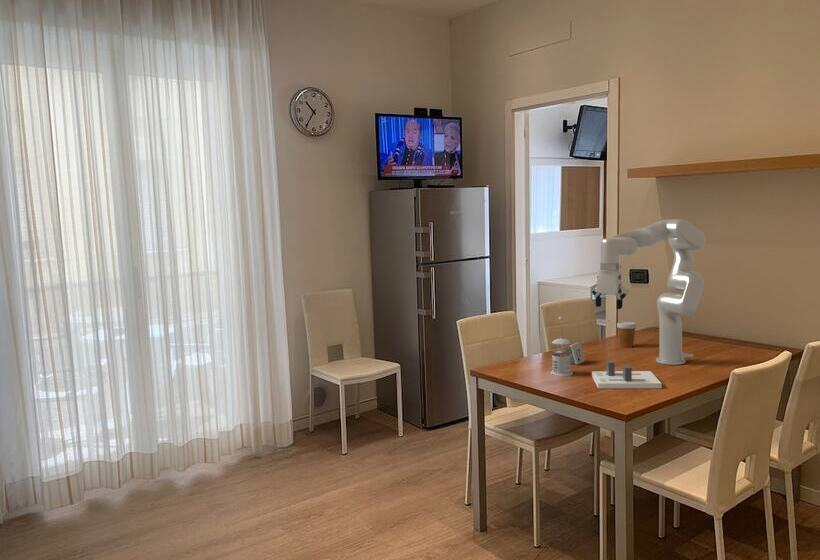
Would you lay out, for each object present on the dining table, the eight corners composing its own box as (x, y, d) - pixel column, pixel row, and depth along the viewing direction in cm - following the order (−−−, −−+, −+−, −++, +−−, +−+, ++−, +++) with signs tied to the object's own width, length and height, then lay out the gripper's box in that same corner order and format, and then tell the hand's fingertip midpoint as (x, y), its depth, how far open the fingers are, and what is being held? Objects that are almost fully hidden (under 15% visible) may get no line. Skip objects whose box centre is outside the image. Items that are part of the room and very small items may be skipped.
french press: (550, 376, 274) (549, 318, 272) (549, 369, 286) (548, 314, 283) (574, 376, 273) (573, 318, 270) (572, 369, 284) (571, 313, 281)
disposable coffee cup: (618, 343, 331) (618, 321, 330) (637, 344, 327) (637, 321, 326) (615, 347, 323) (615, 324, 322) (635, 348, 319) (635, 325, 317)
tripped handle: (629, 377, 258) (629, 365, 258) (631, 381, 253) (631, 368, 253) (623, 377, 258) (622, 365, 258) (625, 381, 254) (625, 368, 253)
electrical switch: (577, 365, 291) (575, 345, 290) (566, 365, 294) (564, 345, 293) (585, 361, 298) (583, 341, 297) (575, 361, 301) (573, 341, 301)
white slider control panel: (650, 375, 268) (650, 358, 267) (661, 388, 249) (661, 369, 249) (591, 375, 272) (591, 358, 271) (598, 388, 253) (598, 369, 252)
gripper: (633, 268, 266) (632, 308, 267) (595, 266, 278) (595, 305, 280) (624, 269, 260) (623, 310, 262) (586, 267, 273) (585, 306, 275)
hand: (608, 307), depth 271 cm, fingers open, 9 cm apart
